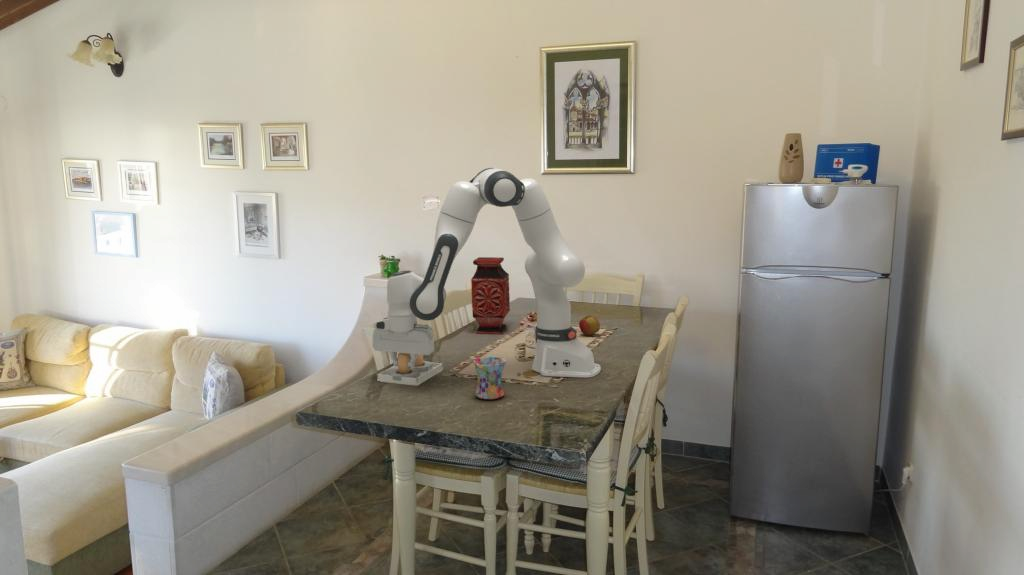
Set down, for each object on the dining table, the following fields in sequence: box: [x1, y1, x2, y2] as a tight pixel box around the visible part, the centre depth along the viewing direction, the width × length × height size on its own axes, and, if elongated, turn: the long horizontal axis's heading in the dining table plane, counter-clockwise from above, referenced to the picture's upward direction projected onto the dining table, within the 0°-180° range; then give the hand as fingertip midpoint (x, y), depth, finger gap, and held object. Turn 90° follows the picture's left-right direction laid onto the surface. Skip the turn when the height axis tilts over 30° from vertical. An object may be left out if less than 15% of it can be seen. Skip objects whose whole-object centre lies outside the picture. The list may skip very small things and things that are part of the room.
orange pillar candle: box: [397, 353, 411, 374], centre depth 211 cm, size 4×4×6 cm
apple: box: [578, 315, 601, 337], centre depth 269 cm, size 8×8×8 cm
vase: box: [471, 256, 511, 335], centre depth 276 cm, size 14×14×30 cm
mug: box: [472, 356, 506, 400], centre depth 196 cm, size 12×9×11 cm
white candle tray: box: [376, 354, 444, 387], centre depth 216 cm, size 14×18×7 cm
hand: (404, 366), depth 211 cm, fingers closed on orange pillar candle, 4 cm apart
